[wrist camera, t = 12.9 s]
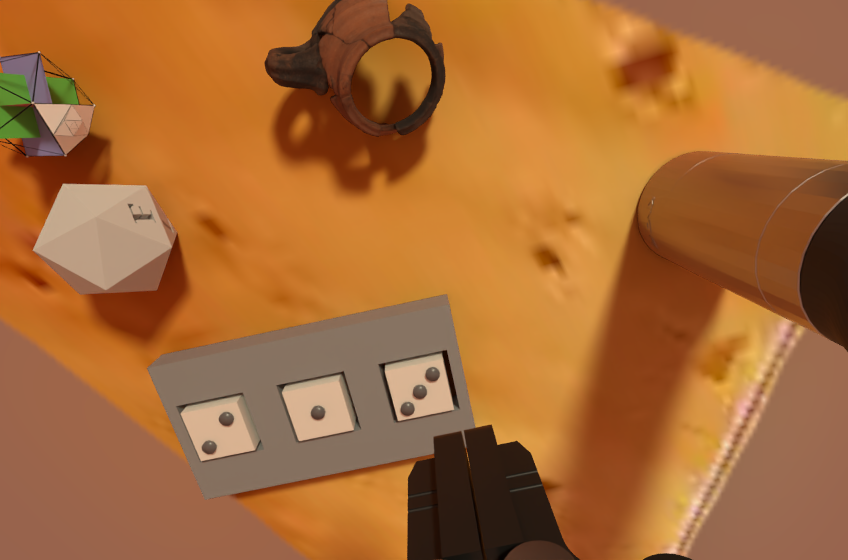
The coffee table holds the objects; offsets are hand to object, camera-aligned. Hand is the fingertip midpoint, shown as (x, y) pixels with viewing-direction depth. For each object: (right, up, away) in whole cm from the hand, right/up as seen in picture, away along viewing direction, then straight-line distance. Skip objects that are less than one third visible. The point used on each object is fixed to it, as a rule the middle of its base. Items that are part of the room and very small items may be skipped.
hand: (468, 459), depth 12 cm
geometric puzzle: (-28, +18, +24) cm, 41 cm away
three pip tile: (-2, -4, +32) cm, 32 cm away
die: (-24, +9, +27) cm, 37 cm away
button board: (-10, -6, +32) cm, 34 cm away
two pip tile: (-19, -8, +32) cm, 38 cm away
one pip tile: (-10, -6, +32) cm, 34 cm away
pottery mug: (-6, +21, +24) cm, 32 cm away
